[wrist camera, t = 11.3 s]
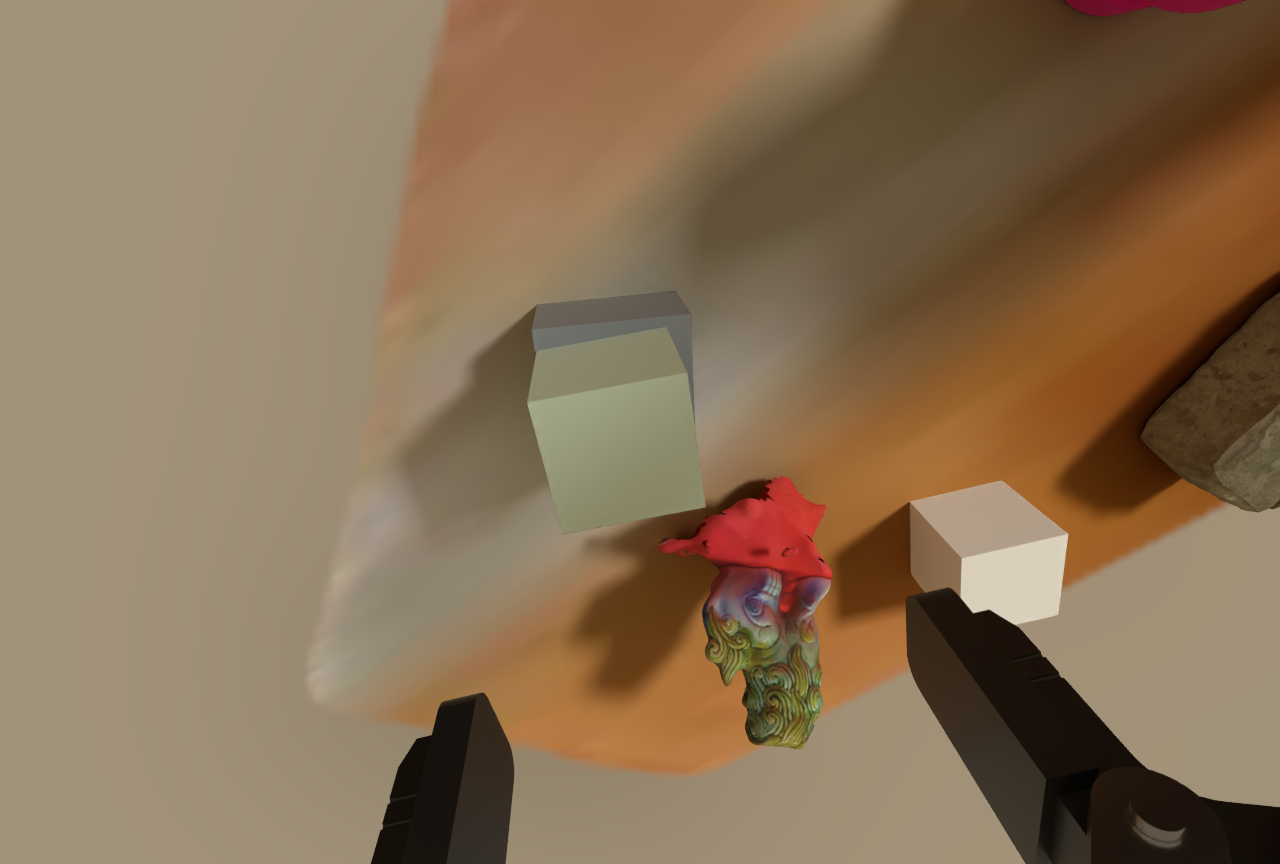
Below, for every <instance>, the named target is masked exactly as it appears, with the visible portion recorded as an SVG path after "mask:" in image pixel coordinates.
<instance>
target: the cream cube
mask: <svg viewBox="0 0 1280 864" xmlns="http://www.w3.org/2000/svg"><path fill="white" fill-rule="evenodd" d="M1067 540H1068V533H1066V532H1065V531H1064V530H1063V529H1061V528H1060V527H1059V526H1058V525H1056V524H1055V523H1054V522H1053V521H1051V520H1050V519H1049V518H1048V517H1046V516H1045V515H1044V514H1043V513H1042V512H1040V511H1039V510H1038V509H1037V508H1035V507H1034V506H1033V505H1032V504H1030V503H1029V502H1028V501H1027V500H1025V499H1024V498H1023V497H1022V496H1020V495H1019V494H1018V493H1017V492H1016V491H1014V490H1013V489H1012V488H1011V487H1009V486H1008V485H1007V484H1006V483H1004V482H1003V481H1002V480H1001V481H997V482H993V483H988V484H984V485H980V486H975V487H971V488H967V489H962V490H958V491H954V492H949V493H945V494H941V495H936V496H932V497H928V498H923V499H919V500H915V501H910V549H911V575H912V576H913V578H914V579H915V580H916V581H917V583H918V584H919V585H920V587H921V588H922V589H923V591H924V592H930V591H934V590H938V589H943V588H947V587H948V588H951V589H953V590H954V591H955V592H956V593H957V594H958V595H959V596H960V598H961V599H962V600H963V601H964V602H965V604H966V605H967V606H968V607H969V609H970V610H971V611H972V612H973V613H976V612H980V611H985V610H991V611H993V612H994V613H996V614H998V615H999V616H1001V617H1002V618H1004V619H1006V620H1007V621H1009V622H1011V623H1012V624H1014V625H1016V624H1020V623H1025V622H1029V621H1034V620H1038V619H1042V618H1047V617H1051V616H1055V615H1058V611H1059V603H1060V596H1061V588H1062V580H1063V572H1064V564H1065V556H1066V548H1067Z"/></svg>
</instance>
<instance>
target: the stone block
mask: <svg viewBox="0 0 1280 864" xmlns="http://www.w3.org/2000/svg"><path fill="white" fill-rule="evenodd" d="M1140 438H1141V439H1142V440H1143V441H1144V442H1145V444H1146V445H1147V446H1148V447H1149V448H1150V449H1151V450H1152V451H1153V452H1154V453H1155V454H1156V455H1157V456H1158V457H1159V458H1160V459H1161V460H1162V461H1163V462H1164V463H1165V464H1167V466H1168V467H1169V468H1171V469H1172V470H1173V471H1174V472H1175V473H1177V474H1178V475H1179V476H1180V477H1181V478H1183V479H1184V480H1186V481H1188V482H1189V483H1191V484H1194V485H1196V486H1197V487H1198V488H1200V489H1203V490H1205V491H1208V492H1210V493H1211V494H1212V495H1214V496H1216V497H1218V499H1220V500H1222V501H1225V502H1227V503H1230V504H1232V505H1235V506H1237V507H1239V508H1240V509H1243V510H1245V511H1252V512H1261V511H1264V510H1266V509H1269V508H1271V509H1275V508H1278V507H1280V292H1279V293H1277V294H1276V295H1274V296H1273V297H1272V298H1270V299H1269V300H1267V301H1266V302H1264V303H1263V304H1262V305H1261V306H1260V307H1259V308H1258V309H1257V310H1256V311H1255V312H1254V313H1253V314H1252V315H1251V316H1250V318H1249V319H1248V320H1247V321H1246V322H1245V323H1244V325H1243V326H1242V327H1241V328H1240V329H1238V330H1237V331H1236V332H1235V333H1234V334H1233V335H1232V336H1231V337H1229V338H1228V339H1227V340H1226V341H1225V342H1224V343H1223V344H1222V345H1221V346H1220V347H1219V348H1218V349H1217V350H1216V351H1215V353H1214V354H1213V355H1212V356H1211V357H1210V358H1209V359H1208V360H1207V361H1206V362H1205V363H1204V364H1203V365H1202V366H1201V367H1199V368H1198V369H1197V370H1196V371H1195V373H1194V374H1193V375H1192V376H1191V378H1190V379H1189V380H1188V381H1187V382H1186V383H1185V384H1184V385H1182V386H1181V387H1180V388H1179V389H1177V390H1176V391H1175V392H1174V393H1173V394H1172V395H1171V396H1170V397H1169V398H1168V399H1167V400H1166V401H1165V402H1164V403H1163V404H1162V405H1161V406H1160V407H1159V408H1158V409H1157V410H1156V411H1155V413H1154V414H1153V415H1152V416H1151V418H1150V419H1149V420H1148V421H1147V424H1146V426H1145V428H1144V430H1143V432H1142V434H1141V436H1140Z"/></svg>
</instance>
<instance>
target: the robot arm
mask: <svg viewBox="0 0 1280 864" xmlns="http://www.w3.org/2000/svg"><path fill="white" fill-rule="evenodd" d="M906 632H907V657H908V662H909V666H910V669H911V672H912V675H913V678H914V680H915V682H916V684H917V686H918V688H919V690H920V692H921V693H922V695H923V697H924V698H925V700H926V701H927V703H928V705H929V706H930V708H931V709H932V711H933V713H934V715H935V716H936V718H937V719H938V721H939V723H940V724H941V726H942V728H943V729H944V731H945V733H946V734H947V736H948V737H949V739H950V741H951V742H952V744H953V746H954V747H955V749H956V751H957V752H958V754H959V755H960V757H961V759H962V760H963V762H964V764H965V765H966V767H967V768H968V770H969V772H970V773H971V775H972V777H973V778H974V780H975V782H976V783H977V785H978V787H979V788H980V790H981V791H982V793H983V795H984V796H985V798H986V800H987V801H988V803H989V805H990V806H991V808H992V809H993V811H994V813H995V814H996V816H997V818H998V819H999V821H1000V823H1001V824H1002V826H1003V827H1004V829H1005V831H1006V832H1007V834H1008V836H1009V837H1010V839H1011V841H1012V842H1013V844H1014V845H1015V847H1016V849H1017V850H1018V852H1019V853H1020V855H1021V857H1022V859H1023V860H1024V862H1025V863H1026V864H1280V807H1272V806H1262V805H1252V804H1242V803H1232V802H1224V801H1217V800H1212V799H1208V798H1204V797H1200V796H1198V795H1197V794H1196V793H1194V792H1193V791H1192V790H1190V789H1189V788H1188V787H1186V786H1185V785H1183V784H1181V783H1180V782H1178V781H1176V780H1174V779H1172V778H1170V777H1168V776H1166V775H1164V774H1161V773H1158V772H1155V771H1152V770H1148V769H1147V768H1146V767H1145V766H1143V765H1142V764H1141V763H1140V762H1139V761H1138V760H1137V759H1136V758H1135V757H1134V756H1133V755H1132V754H1131V753H1130V752H1129V751H1128V750H1127V748H1126V747H1125V746H1124V745H1123V744H1122V743H1121V742H1120V741H1119V739H1118V738H1117V737H1116V736H1115V735H1114V734H1113V733H1112V731H1111V730H1110V729H1109V728H1108V727H1107V726H1106V725H1105V724H1104V722H1103V721H1102V720H1101V719H1100V718H1099V717H1098V716H1097V715H1096V714H1095V712H1094V711H1093V710H1092V709H1091V708H1090V707H1089V706H1088V704H1087V703H1086V702H1085V701H1084V700H1083V699H1082V698H1081V697H1080V695H1079V694H1078V693H1077V692H1076V691H1075V690H1074V689H1073V688H1072V686H1071V685H1070V684H1069V683H1068V682H1067V681H1066V680H1065V679H1064V678H1061V677H1060V675H1059V672H1058V671H1057V670H1056V669H1055V668H1054V666H1053V665H1052V664H1051V663H1050V662H1049V661H1048V660H1047V658H1046V657H1043V656H1042V655H1041V652H1040V651H1039V649H1038V648H1037V647H1036V646H1035V645H1034V644H1033V643H1032V642H1031V641H1030V639H1029V638H1028V637H1027V636H1026V635H1025V634H1024V633H1023V631H1022V630H1021V629H1020V628H1019V627H1017V626H1016V625H1014V624H1012V623H1011V622H1009V621H1007V620H1006V619H1004V618H1002V617H1001V616H999V615H998V614H996V613H994V612H993V611H991V610H985V611H980V612H976V613H973V612H972V611H971V610H970V609H969V607H968V606H967V605H966V604H965V602H964V601H963V600H962V599H961V598H960V596H959V595H958V594H957V593H956V592H955V591H954V590H953V589H951V588H948V587H947V588H943V589H938V590H934V591H930V592H925V593H921V594H916V595H912V596H908V597H907V599H906ZM513 784H514V763H513V756H512V751H511V747H510V744H509V742H508V740H507V738H506V735H505V733H504V731H503V729H502V727H501V725H500V723H499V721H498V719H497V716H496V714H495V712H494V710H493V708H492V706H491V704H490V702H489V699H488V698H487V696H486V695H485V694H484V693H478V694H474V695H469V696H465V697H461V698H456V699H452V700H448V701H444V702H442V703H441V705H440V707H439V709H438V712H437V716H436V720H435V725H434V729H433V733H432V735H431V736H426V737H422V738H417V739H416V741H415V742H414V744H413V746H412V747H411V749H410V750H409V752H408V753H407V755H406V756H405V758H404V760H403V761H402V763H401V764H400V766H399V767H398V771H397V774H396V778H395V781H394V784H393V788H392V792H391V795H390V804H388V806H387V809H386V813H385V816H384V820H383V823H382V824H383V829H382V830H380V834H379V837H378V841H377V844H376V848H375V851H374V855H373V858H372V862H371V864H505V863H506V853H507V843H508V833H509V823H510V813H511V804H512V793H513Z"/></svg>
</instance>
